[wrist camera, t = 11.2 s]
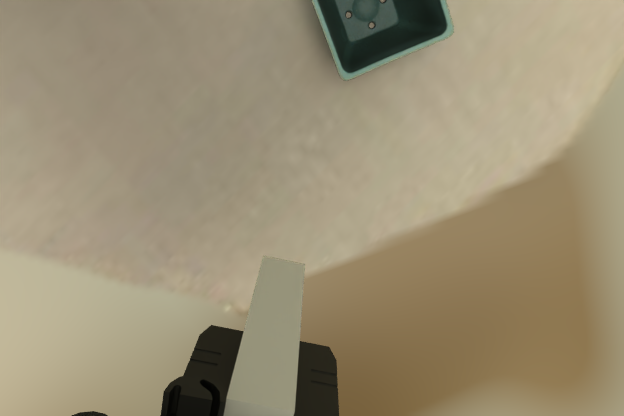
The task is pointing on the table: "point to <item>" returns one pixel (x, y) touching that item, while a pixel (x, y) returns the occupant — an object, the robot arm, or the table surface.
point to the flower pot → (380, 30)
